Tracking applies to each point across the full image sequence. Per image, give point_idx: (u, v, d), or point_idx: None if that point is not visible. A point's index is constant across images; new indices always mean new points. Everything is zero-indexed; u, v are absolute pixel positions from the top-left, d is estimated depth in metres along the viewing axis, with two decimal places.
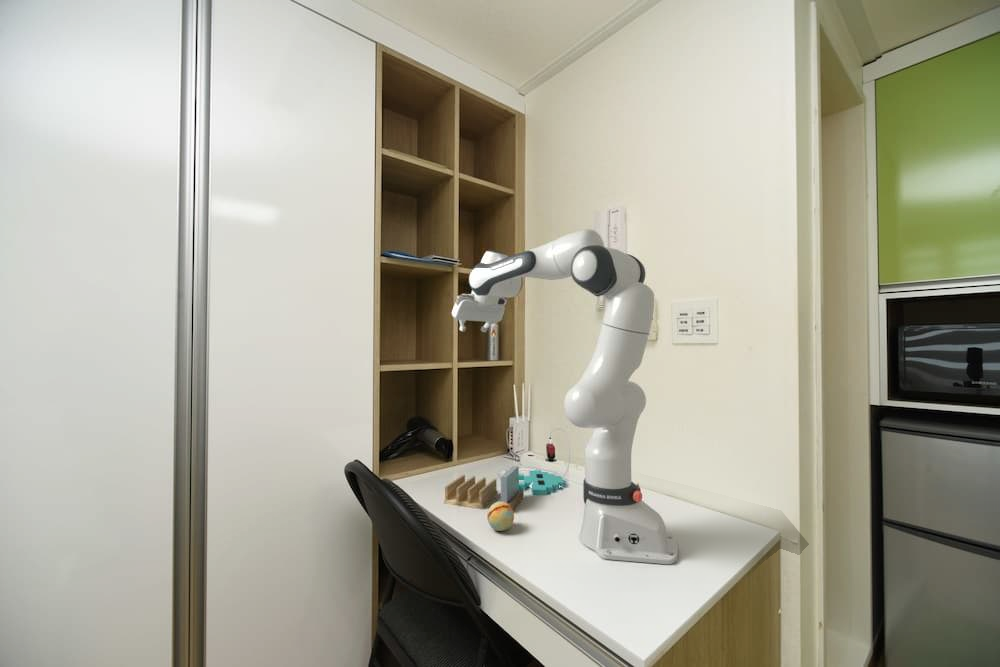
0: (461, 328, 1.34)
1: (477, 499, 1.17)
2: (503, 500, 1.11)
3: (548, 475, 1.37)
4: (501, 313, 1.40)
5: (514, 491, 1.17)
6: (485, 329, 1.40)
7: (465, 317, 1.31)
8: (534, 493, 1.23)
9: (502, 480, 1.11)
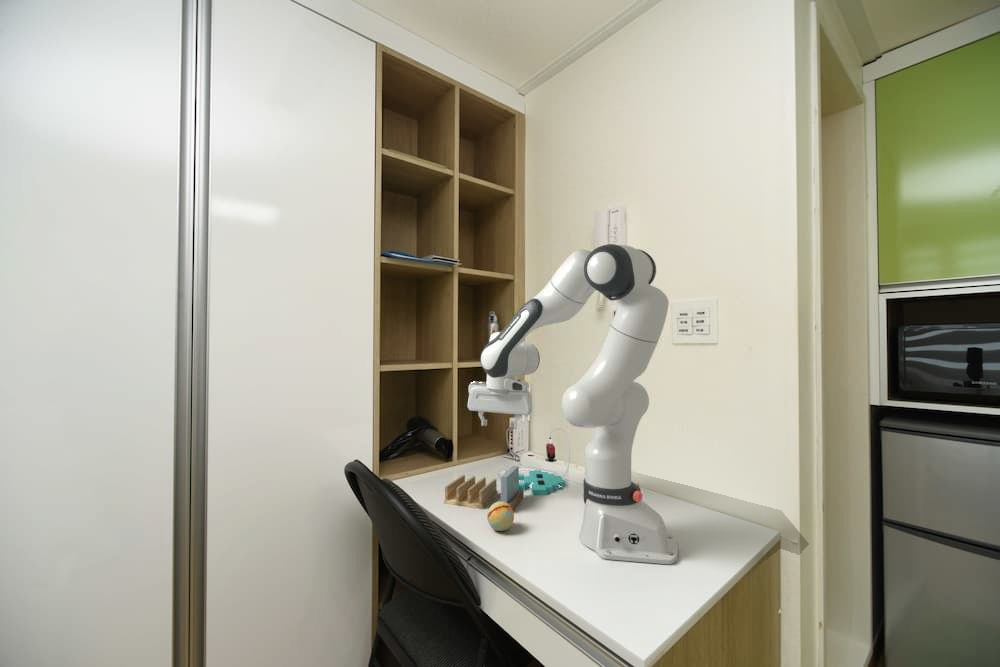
0: None
1: (477, 499, 1.17)
2: (503, 500, 1.11)
3: (548, 475, 1.37)
4: (526, 403, 1.15)
5: (514, 491, 1.17)
6: (513, 424, 1.17)
7: (478, 407, 1.19)
8: (534, 493, 1.23)
9: (502, 480, 1.11)
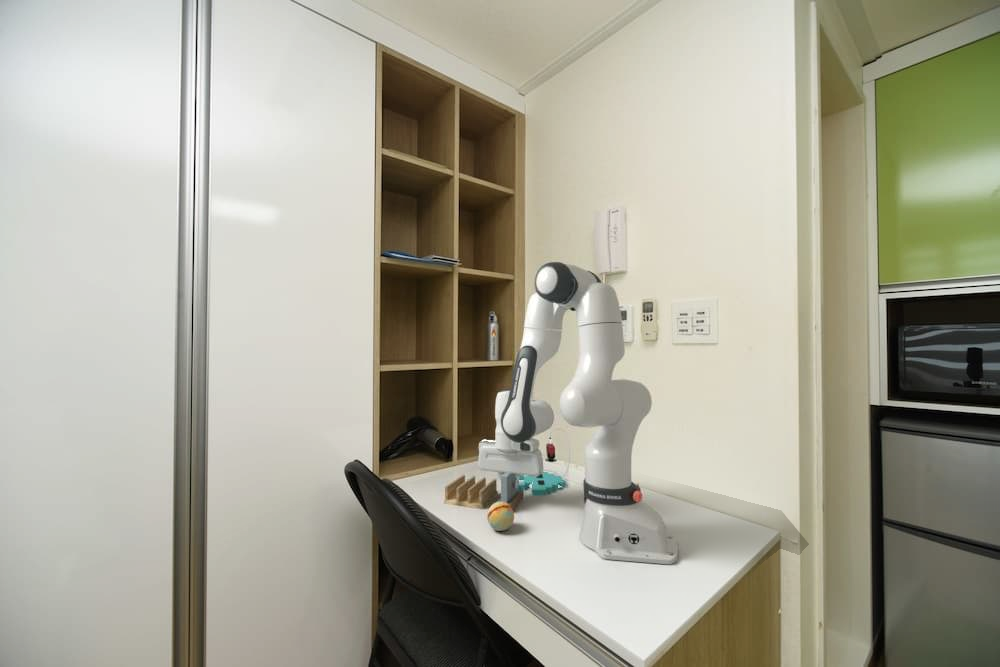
0: None
1: (477, 499, 1.17)
2: (503, 500, 1.11)
3: (548, 475, 1.37)
4: (535, 463, 1.11)
5: (514, 491, 1.17)
6: (514, 484, 1.15)
7: (488, 467, 1.17)
8: (534, 493, 1.23)
9: (502, 479, 1.11)
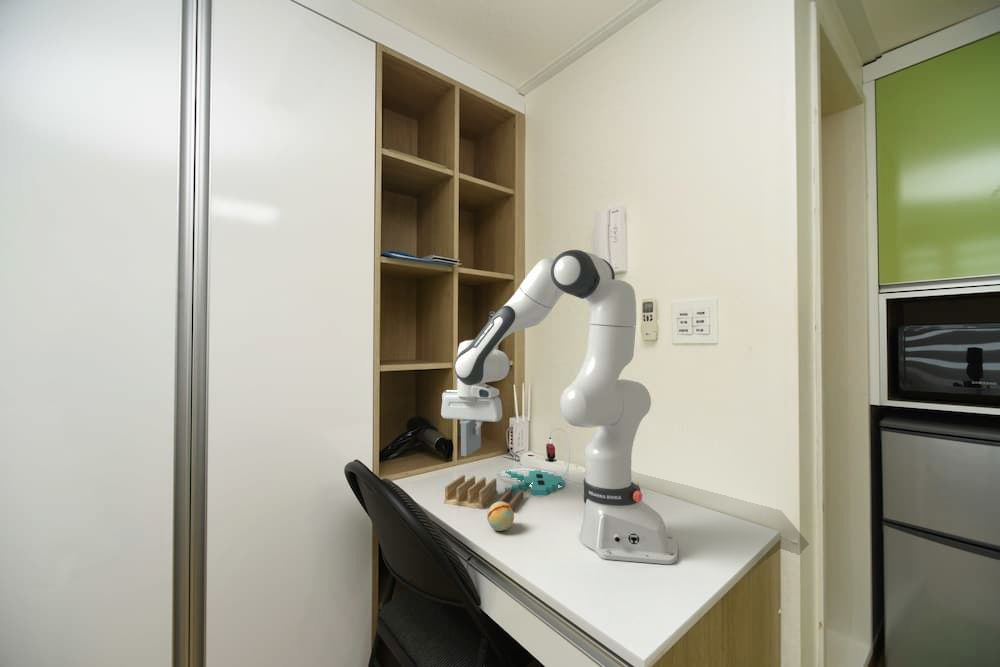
0: None
1: (477, 499, 1.17)
2: (463, 445, 1.16)
3: (548, 475, 1.37)
4: (493, 409, 1.16)
5: (475, 438, 1.22)
6: (474, 430, 1.20)
7: (451, 415, 1.22)
8: (534, 493, 1.23)
9: (461, 426, 1.16)
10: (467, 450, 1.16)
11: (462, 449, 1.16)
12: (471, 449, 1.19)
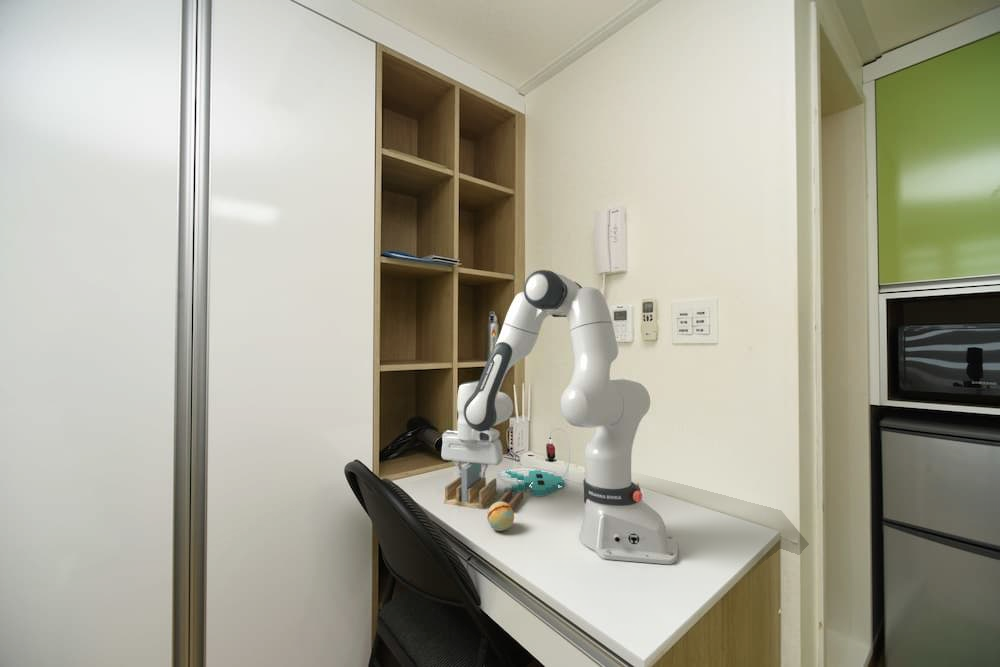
0: None
1: (477, 499, 1.17)
2: (463, 491, 1.16)
3: (548, 475, 1.37)
4: (494, 452, 1.16)
5: (476, 482, 1.22)
6: (480, 474, 1.19)
7: (451, 456, 1.21)
8: (534, 493, 1.23)
9: (462, 471, 1.16)
10: None
11: (463, 495, 1.16)
12: None
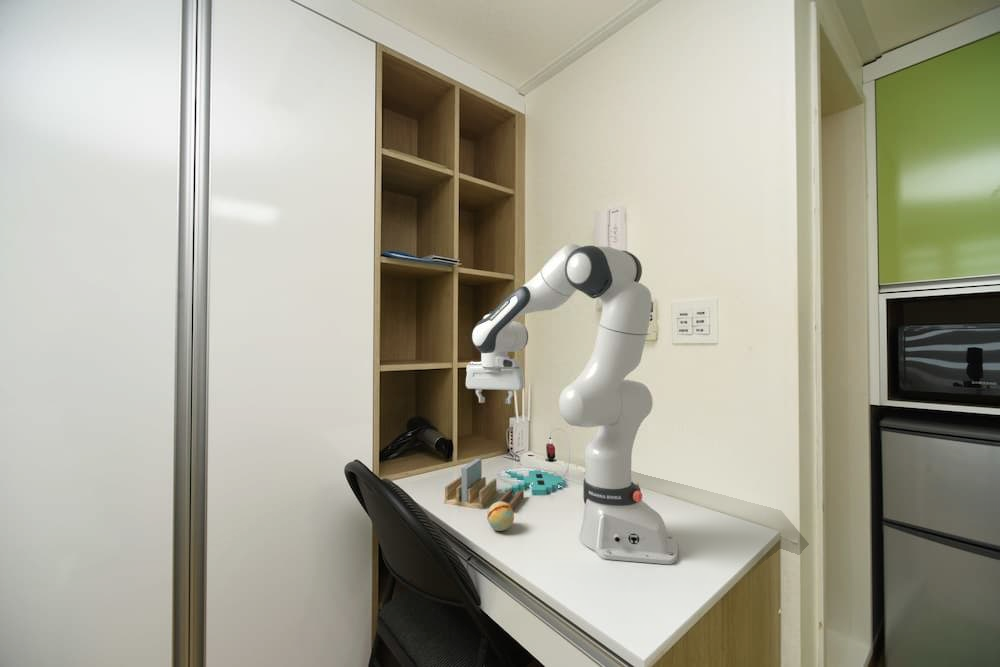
0: None
1: (477, 499, 1.17)
2: (463, 491, 1.16)
3: (548, 475, 1.37)
4: (517, 378, 1.23)
5: (476, 482, 1.22)
6: (507, 400, 1.25)
7: (475, 385, 1.28)
8: (534, 493, 1.23)
9: (462, 471, 1.16)
10: None
11: (463, 495, 1.16)
12: None
